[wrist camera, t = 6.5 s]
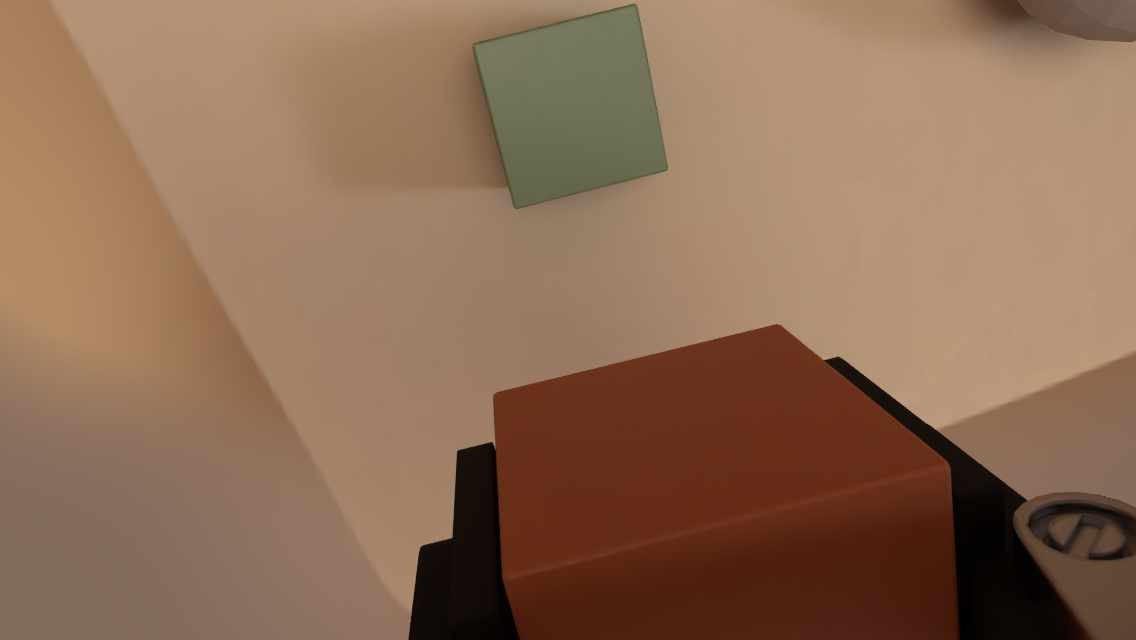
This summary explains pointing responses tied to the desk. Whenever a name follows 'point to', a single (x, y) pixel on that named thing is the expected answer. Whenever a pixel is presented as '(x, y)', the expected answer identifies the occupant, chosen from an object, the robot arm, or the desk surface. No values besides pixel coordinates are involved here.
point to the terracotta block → (720, 503)
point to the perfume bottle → (1087, 17)
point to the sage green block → (572, 105)
